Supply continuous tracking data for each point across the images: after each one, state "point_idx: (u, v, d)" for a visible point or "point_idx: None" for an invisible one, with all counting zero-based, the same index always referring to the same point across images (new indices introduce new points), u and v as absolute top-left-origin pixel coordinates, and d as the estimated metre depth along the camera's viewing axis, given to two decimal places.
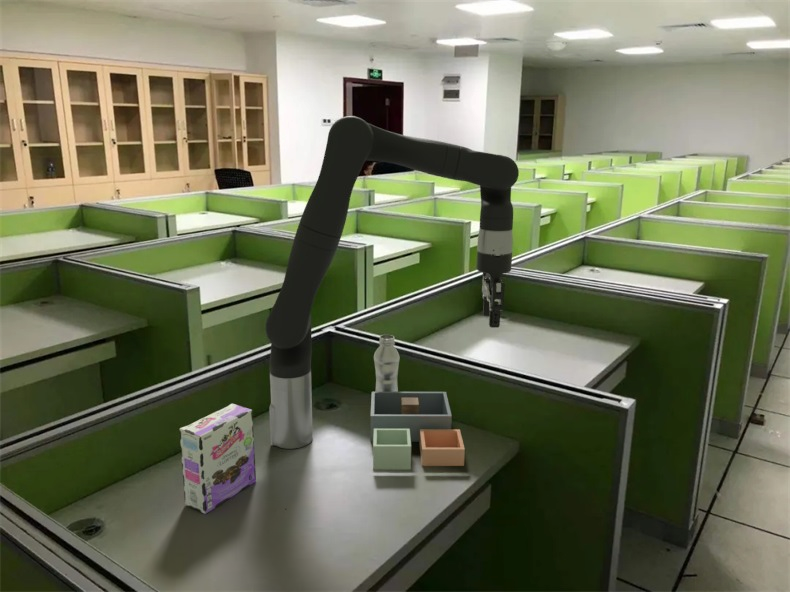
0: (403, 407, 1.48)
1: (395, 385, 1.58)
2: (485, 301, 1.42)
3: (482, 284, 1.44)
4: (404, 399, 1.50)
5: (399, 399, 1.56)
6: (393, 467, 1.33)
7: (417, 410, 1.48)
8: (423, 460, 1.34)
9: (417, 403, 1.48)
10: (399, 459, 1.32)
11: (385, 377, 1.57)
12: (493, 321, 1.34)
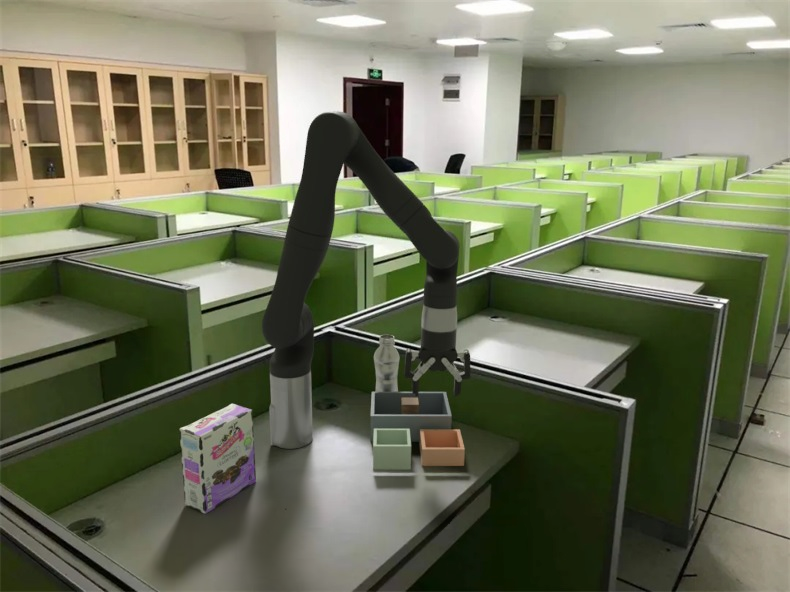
0: (403, 407, 1.48)
1: (395, 385, 1.58)
2: (418, 381, 1.35)
3: (407, 368, 1.34)
4: (404, 399, 1.50)
5: (399, 399, 1.56)
6: (393, 467, 1.33)
7: (417, 410, 1.48)
8: (423, 460, 1.34)
9: (417, 403, 1.48)
10: (399, 459, 1.32)
11: (385, 377, 1.57)
12: None
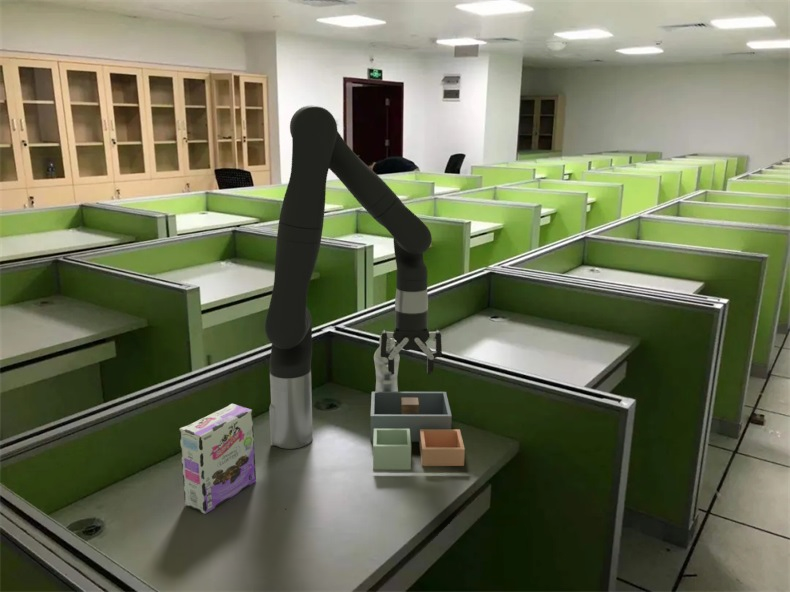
0: (403, 407, 1.48)
1: (395, 385, 1.58)
2: None
3: (382, 348, 1.44)
4: (404, 399, 1.50)
5: (399, 399, 1.56)
6: (393, 467, 1.33)
7: (417, 410, 1.48)
8: (423, 460, 1.34)
9: (417, 403, 1.48)
10: (399, 459, 1.32)
11: (385, 377, 1.57)
12: None
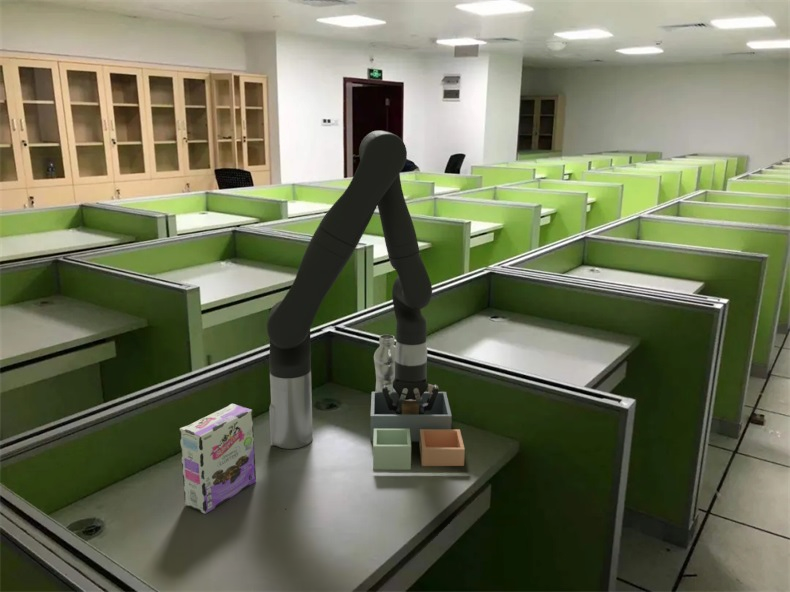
0: (403, 407, 1.48)
1: None
2: (401, 413, 1.49)
3: (388, 402, 1.48)
4: None
5: None
6: (393, 467, 1.33)
7: (417, 410, 1.48)
8: (423, 460, 1.34)
9: None
10: (399, 459, 1.32)
11: (385, 377, 1.57)
12: None
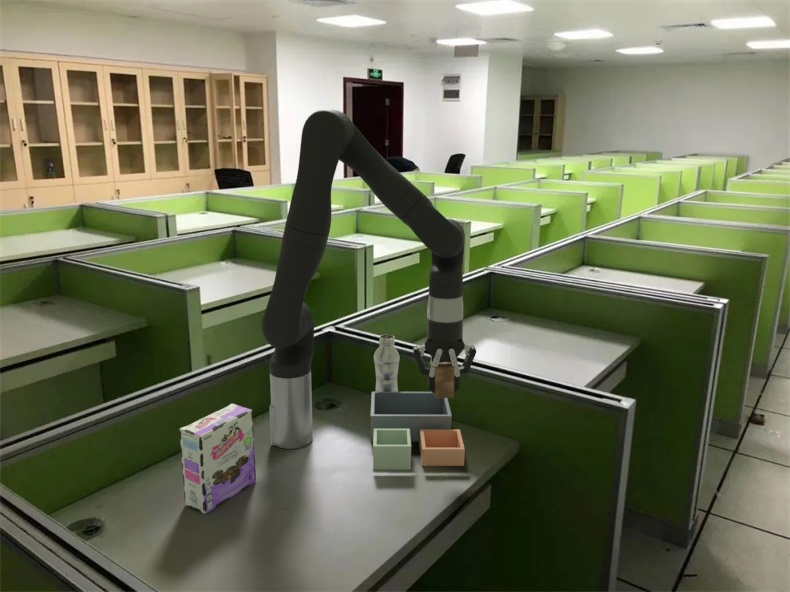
0: (437, 370, 1.32)
1: (395, 385, 1.58)
2: None
3: (420, 365, 1.32)
4: None
5: (399, 399, 1.56)
6: (393, 467, 1.33)
7: (452, 373, 1.32)
8: (423, 460, 1.34)
9: None
10: (399, 459, 1.32)
11: (385, 377, 1.57)
12: None
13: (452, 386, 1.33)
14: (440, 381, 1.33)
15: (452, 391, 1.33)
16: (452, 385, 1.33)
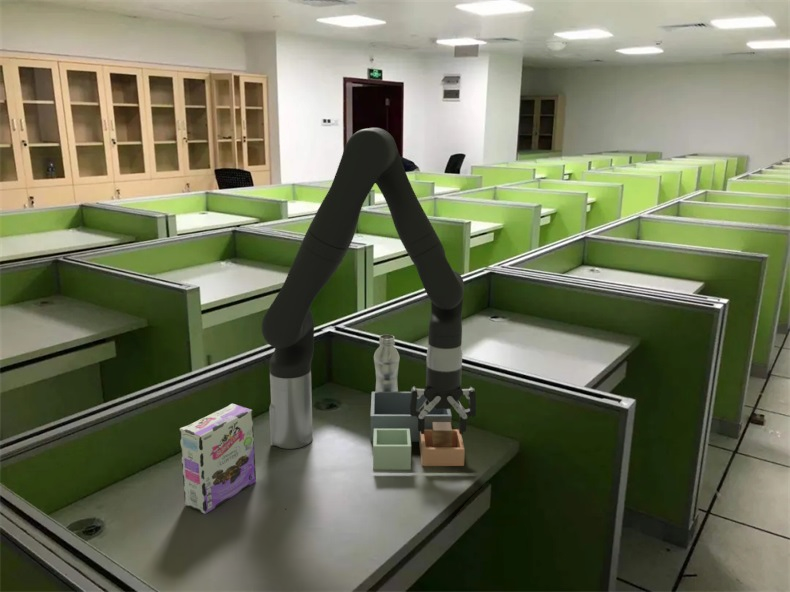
0: (435, 433, 1.35)
1: (395, 385, 1.58)
2: (424, 419, 1.36)
3: (412, 406, 1.34)
4: (435, 424, 1.38)
5: (399, 399, 1.56)
6: (393, 467, 1.33)
7: (450, 436, 1.35)
8: (423, 460, 1.34)
9: (450, 429, 1.36)
10: (399, 459, 1.32)
11: (385, 377, 1.57)
12: None
13: None
14: (437, 444, 1.36)
15: None
16: (449, 447, 1.36)
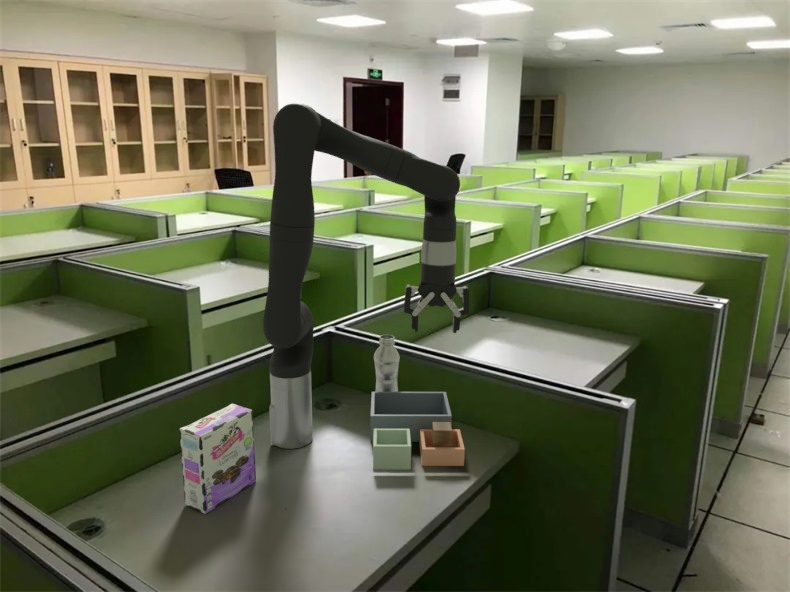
0: (435, 433, 1.35)
1: (395, 385, 1.58)
2: None
3: (406, 303, 1.36)
4: (435, 424, 1.38)
5: (399, 399, 1.56)
6: (393, 467, 1.33)
7: (450, 436, 1.35)
8: (423, 460, 1.34)
9: (450, 429, 1.36)
10: (399, 459, 1.32)
11: (385, 377, 1.57)
12: None
13: None
14: (437, 444, 1.36)
15: None
16: (449, 447, 1.36)
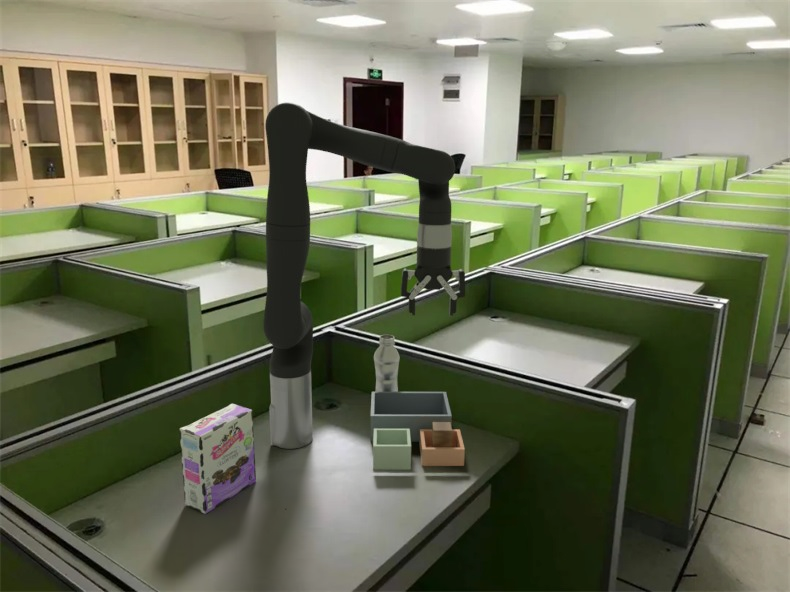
0: (435, 433, 1.35)
1: (395, 385, 1.58)
2: None
3: (403, 286, 1.38)
4: (435, 424, 1.38)
5: (399, 399, 1.56)
6: (393, 467, 1.33)
7: (450, 436, 1.35)
8: (423, 460, 1.34)
9: (450, 429, 1.36)
10: (399, 459, 1.32)
11: (385, 377, 1.57)
12: None
13: None
14: (437, 444, 1.36)
15: None
16: (449, 447, 1.36)
